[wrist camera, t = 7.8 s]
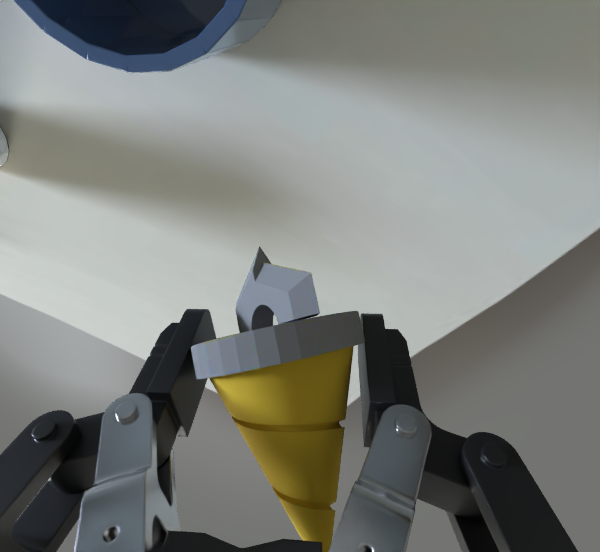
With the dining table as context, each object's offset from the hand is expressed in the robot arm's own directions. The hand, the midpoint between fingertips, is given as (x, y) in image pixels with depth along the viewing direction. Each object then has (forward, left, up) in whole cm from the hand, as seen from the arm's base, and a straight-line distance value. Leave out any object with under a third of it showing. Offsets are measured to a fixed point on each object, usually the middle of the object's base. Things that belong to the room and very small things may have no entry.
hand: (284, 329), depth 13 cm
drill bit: (+1, 0, -1) cm, 1 cm away
